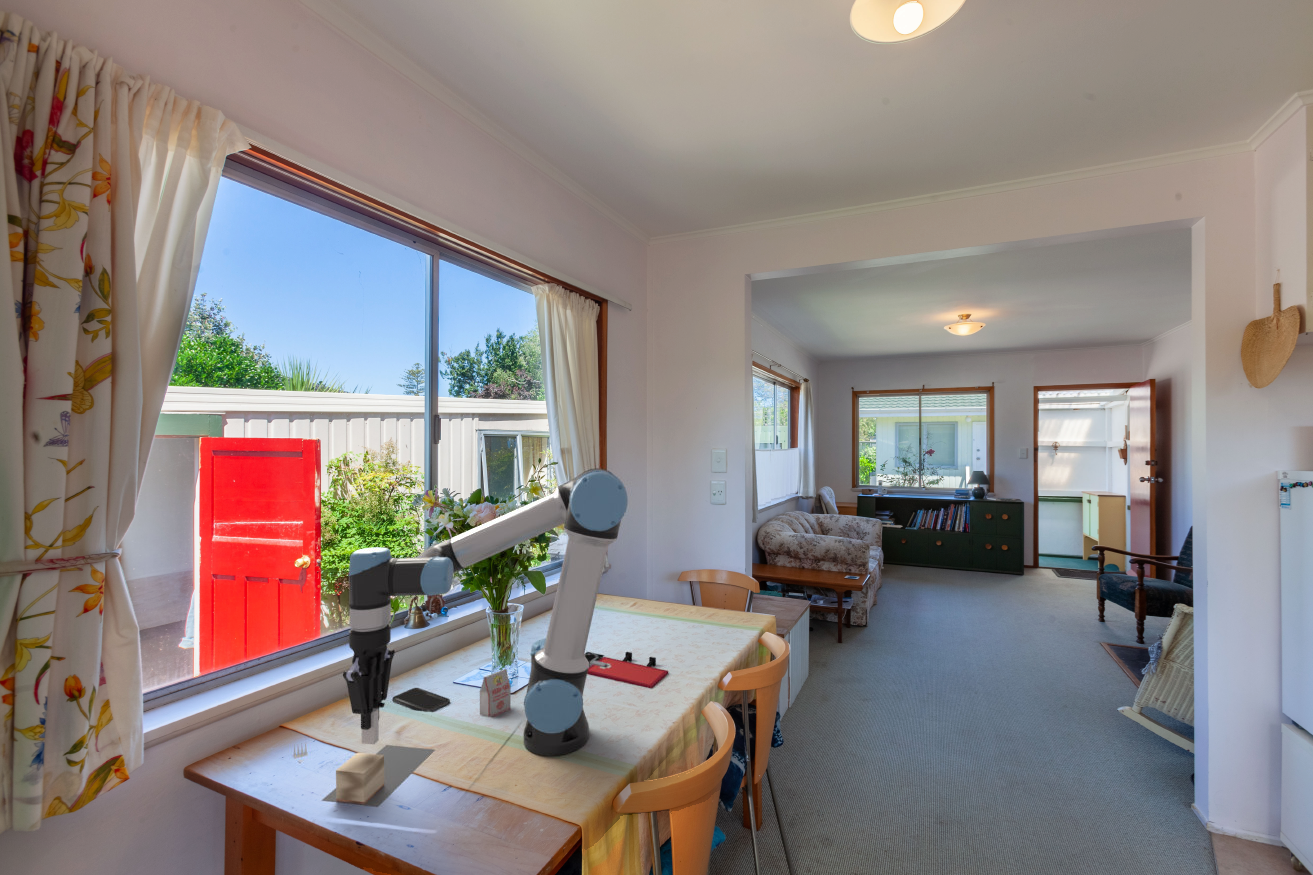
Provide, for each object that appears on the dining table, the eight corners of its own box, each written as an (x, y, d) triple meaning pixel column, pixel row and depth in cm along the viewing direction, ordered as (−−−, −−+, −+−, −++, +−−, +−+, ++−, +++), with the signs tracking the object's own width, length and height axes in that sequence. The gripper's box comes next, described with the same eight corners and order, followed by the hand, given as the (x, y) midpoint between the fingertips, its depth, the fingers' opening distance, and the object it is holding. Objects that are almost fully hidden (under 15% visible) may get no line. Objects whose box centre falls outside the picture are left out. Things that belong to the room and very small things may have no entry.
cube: (363, 773, 109) (364, 804, 109) (383, 755, 115) (384, 784, 115) (335, 770, 110) (336, 800, 110) (357, 752, 116) (357, 781, 116)
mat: (435, 752, 128) (435, 749, 128) (377, 809, 109) (377, 806, 109) (386, 747, 130) (386, 744, 130) (321, 803, 110) (321, 799, 110)
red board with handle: (590, 652, 187) (563, 670, 174) (590, 643, 187) (563, 661, 174) (673, 670, 174) (651, 691, 161) (673, 661, 174) (651, 681, 160)
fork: (296, 790, 115) (296, 780, 115) (293, 753, 128) (292, 745, 128) (311, 785, 117) (311, 776, 117) (306, 750, 130) (306, 741, 130)
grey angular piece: (479, 714, 146) (479, 675, 146) (501, 704, 151) (501, 666, 151) (488, 718, 143) (488, 679, 143) (510, 708, 149) (510, 670, 149)
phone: (426, 711, 145) (390, 697, 153) (426, 716, 145) (390, 701, 153) (452, 699, 152) (416, 686, 160) (452, 703, 152) (416, 690, 160)
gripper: (374, 614, 123) (374, 724, 123) (330, 635, 110) (330, 757, 110) (406, 616, 121) (406, 727, 121) (365, 638, 109) (365, 761, 109)
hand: (370, 741), depth 116 cm, fingers closed
